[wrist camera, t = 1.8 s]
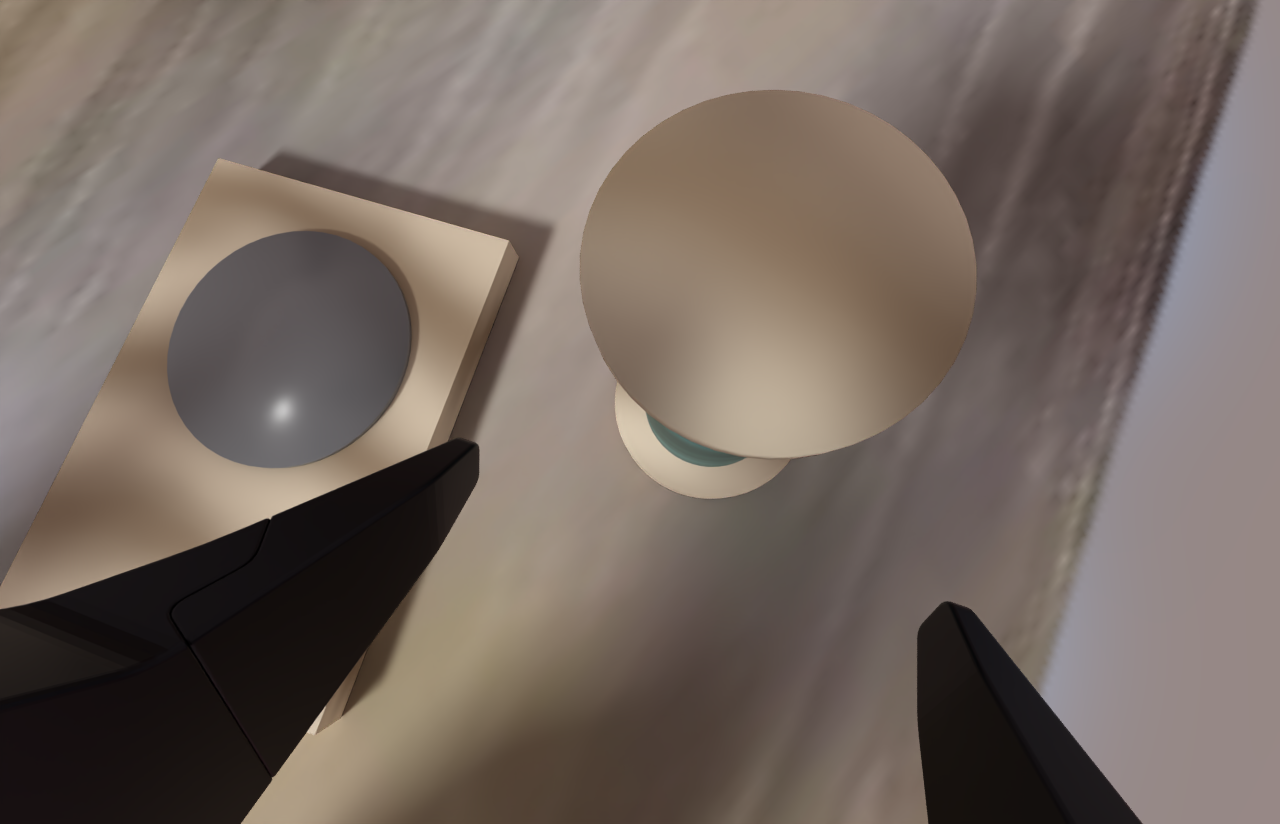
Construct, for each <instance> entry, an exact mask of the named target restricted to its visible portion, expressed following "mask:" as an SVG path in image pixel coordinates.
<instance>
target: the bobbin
mask: <svg viewBox="0 0 1280 824" xmlns="http://www.w3.org/2000/svg"><path fill="white" fill-rule="evenodd" d="M580 284H581V292H582V299H583V305H584V308H585V312H586V316H587V319H588V323H589V326H590V329H591V331H592V333H593V336H594V338H595V341H596V343H597V345H598V348H599V350H600V352H601V354H602V357H603V359H604V361H605V362H606V364H607V366H608V367H609V369H610V371H611V372H612V374H613V375H614V377H615V379H616V380H617V385H616V393H615V413H616V420H617V424H618V428H619V432H620V435H621V437H622V439H623V442H624V444H625V446H626V448H627V449H628V451H629V453H630V454H631V456H632V458H633V459H634V460H635V462H636V463H637V464H638V465H639V467H640V468H641V469H642V470H643V471H644V472H645V473H646V474H647V475H648V476H649V477H651V478H652V479H653V480H655V481H656V482H657V483H659V484H660V485H662V486H664V487H666V488H667V489H669V490H671V491H674V492H676V493H679V494H682V495H686V496H690V497H694V498H702V499H719V498H726V497H733V496H737V495H740V494H744V493H747V492H749V491H752V490H754V489H756V488H758V487H760V486H762V485H763V484H765V483H767V482H768V481H770V480H771V479H772V478H773V477H775V476H776V475H777V474H778V473H779V472H780V471H781V470H782V469H783V468H784V467H785V466H786V465H787V464H788V463H789V461H790V460H791V459H795V458H802V457H809V456H815V455H820V454H823V453H827V452H830V451H834V450H837V449H841V448H844V447H847V446H850V445H853V444H856V443H858V442H860V441H863V440H865V439H867V438H869V437H872V436H874V435H876V434H879V433H881V432H882V431H884V430H885V429H887V428H889V427H890V426H892V425H894V424H895V423H897V422H898V421H900V420H902V419H903V418H904V417H906V416H907V415H908V414H909V413H910V412H912V411H913V410H914V409H915V408H916V407H918V406H919V405H920V404H921V403H922V402H923V401H924V400H925V399H926V398H927V397H928V396H929V395H930V394H931V393H932V392H933V390H934V389H935V388H936V387H937V386H938V385H939V384H940V383H941V381H942V380H943V378H944V377H945V375H946V374H947V372H948V371H949V369H950V368H951V366H952V365H953V363H954V362H955V360H956V358H957V356H958V354H959V351H960V349H961V347H962V345H963V343H964V341H965V339H966V336H967V332H968V329H969V326H970V323H971V319H972V316H973V310H974V304H975V297H976V290H977V265H976V258H975V251H974V244H973V240H972V236H971V233H970V229H969V226H968V222H967V219H966V216H965V214H964V212H963V210H962V208H961V205H960V203H959V201H958V199H957V196H956V195H955V193H954V191H953V190H952V188H951V187H950V185H949V183H948V182H947V180H946V178H945V177H944V175H943V174H942V173H941V172H940V170H939V169H938V168H937V167H936V165H935V164H934V163H933V162H932V160H931V159H930V158H929V157H928V156H927V155H926V154H925V153H924V152H923V151H922V150H921V149H920V148H919V147H918V146H917V145H916V144H915V143H914V142H913V141H912V140H911V139H909V138H908V137H907V136H905V135H904V134H903V133H901V132H900V131H898V130H897V129H896V128H894V127H893V126H892V125H890V124H889V123H887V122H885V121H883V120H882V119H880V118H878V117H876V116H875V115H873V114H871V113H869V112H867V111H865V110H862V109H860V108H858V107H856V106H853V105H851V104H849V103H846V102H843V101H839V100H836V99H833V98H829V97H826V96H822V95H816V94H811V93H805V92H800V91H785V90H762V91H748V92H742V93H736V94H730V95H725V96H721V97H718V98H714V99H711V100H707V101H704V102H702V103H699V104H697V105H694V106H692V107H689V108H687V109H685V110H682V111H680V112H679V113H677V114H675V115H673V116H672V117H670V118H668V119H666V120H664V121H663V122H661V123H660V124H658V125H657V126H656V127H654V128H653V129H651V130H650V131H649V132H647V133H646V134H645V135H643V136H642V137H641V138H640V139H639V140H638V141H637V142H636V143H635V144H634V145H633V146H632V147H631V148H629V149H628V150H627V151H626V152H625V154H624V155H623V156H622V157H621V159H620V160H619V161H618V162H617V163H616V165H615V166H614V167H613V168H612V170H611V171H610V173H609V174H608V176H607V178H606V179H605V181H604V182H603V184H602V186H601V187H600V189H599V191H598V193H597V195H596V198H595V200H594V202H593V204H592V207H591V209H590V212H589V215H588V218H587V222H586V225H585V229H584V232H583V238H582V245H581V252H580Z"/></svg>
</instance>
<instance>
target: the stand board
mask: <svg viewBox="0 0 1280 824" xmlns="http://www.w3.org/2000/svg"><path fill="white" fill-rule="evenodd" d="M518 259H519V257H518V255H517V253H516V252H515V250H514V248H513V247H512V245H511V243H510V241H509V240H505V239H502V238H498V237H495V236H491V235H488V234H484V233H480V232H477V231H473V230H470V229H466V228H463V227H459V226H456V225H452V224H449V223H445V222H442V221H438V220H435V219H431V218H428V217H424V216H421V215H417V214H414V213H410V212H407V211H403V210H399V209H396V208H392V207H389V206H385V205H382V204H378V203H375V202H371V201H368V200H364V199H361V198H357V197H354V196H350V195H347V194H343V193H340V192H336V191H333V190H329V189H325V188H322V187H318V186H315V185H311V184H308V183H304V182H301V181H297V180H294V179H290V178H287V177H283V176H280V175H276V174H273V173H269V172H266V171H262V170H259V169H255V168H252V167H248V166H244V165H241V164H237V163H234V162H230V161H227V160H223V159H220V158H218V160H217V162H216V164H215V166H214V168H213V170H212V172H211V174H210V176H209V178H208V180H207V182H206V184H205V186H204V187H203V189H202V191H201V193H200V195H199V197H198V199H197V201H196V203H195V205H194V207H193V209H192V211H191V213H190V215H189V217H188V219H187V221H186V223H185V225H184V227H183V229H182V231H181V233H180V235H179V237H178V239H177V241H176V242H175V244H174V246H173V248H172V250H171V252H170V254H169V256H168V258H167V260H166V262H165V264H164V266H163V268H162V270H161V272H160V274H159V276H158V278H157V280H156V282H155V284H154V286H153V288H152V290H151V292H150V294H149V295H148V297H147V299H146V301H145V303H144V305H143V307H142V309H141V311H140V313H139V315H138V317H137V319H136V321H135V323H134V325H133V327H132V329H131V331H130V333H129V335H128V337H127V339H126V341H125V343H124V345H123V347H122V349H121V350H120V352H119V354H118V356H117V358H116V360H115V362H114V364H113V366H112V368H111V370H110V372H109V374H108V376H107V378H106V380H105V382H104V384H103V386H102V388H101V390H100V392H99V394H98V396H97V398H96V400H95V402H94V403H93V405H92V407H91V409H90V411H89V413H88V415H87V417H86V419H85V421H84V423H83V425H82V427H81V429H80V431H79V433H78V435H77V437H76V439H75V441H74V443H73V445H72V447H71V449H70V451H69V453H68V455H67V456H66V458H65V460H64V462H63V464H62V466H61V468H60V470H59V472H58V474H57V476H56V478H55V480H54V482H53V484H52V486H51V488H50V490H49V492H48V494H47V496H46V498H45V500H44V502H43V504H42V506H41V508H40V510H39V511H38V513H37V515H36V517H35V519H34V521H33V523H32V525H31V527H30V529H29V531H28V533H27V535H26V537H25V539H24V541H23V543H22V545H21V547H20V549H19V551H18V553H17V555H16V557H15V559H14V561H13V563H12V564H11V566H10V568H9V570H8V572H7V574H6V576H5V578H4V580H3V582H2V584H1V586H0V609H3V608H9V607H14V606H19V605H24V604H28V603H32V602H36V601H40V600H44V599H47V598H50V597H54V596H57V595H60V594H63V593H66V592H69V591H72V590H75V589H78V588H80V587H83V586H86V585H89V584H92V583H95V582H98V581H100V580H103V579H106V578H109V577H112V576H115V575H118V574H121V573H123V572H126V571H129V570H132V569H135V568H138V567H141V566H144V565H146V564H149V563H152V562H155V561H158V560H161V559H164V558H166V557H169V556H172V555H175V554H177V553H180V552H183V551H186V550H188V549H191V548H194V547H196V546H199V545H202V544H205V543H207V542H210V541H212V540H215V539H217V538H220V537H222V536H225V535H227V534H230V533H232V532H235V531H237V530H240V529H242V528H245V527H247V526H249V525H252V524H254V523H256V522H259V521H261V520H263V519H266V518H269V519H271V517H272V516H273V515H276V514H278V513H280V512H283V511H285V510H287V509H290V508H292V507H294V506H297V505H299V504H302V503H304V502H306V501H309V500H311V499H313V498H316V497H318V496H320V495H323V494H325V493H328V492H330V491H332V490H335V489H337V488H339V487H342V486H344V485H346V484H349V483H351V482H353V481H356V480H358V479H361V478H363V477H365V476H368V475H370V474H372V473H375V472H377V471H379V470H382V469H384V468H387V467H389V466H391V465H394V464H396V463H398V462H401V461H403V460H405V459H408V458H410V457H412V456H415V455H417V454H420V453H422V452H424V451H427V450H429V449H431V448H434V447H436V446H438V445H441V444H443V443H446V442H448V440H449V437H450V434H451V432H452V429H453V427H454V424H455V421H456V419H457V416H458V414H459V411H460V409H461V406H462V403H463V401H464V398H465V396H466V393H467V390H468V388H469V385H470V383H471V380H472V378H473V375H474V372H475V370H476V367H477V365H478V362H479V359H480V357H481V354H482V352H483V349H484V347H485V344H486V341H487V339H488V336H489V334H490V331H491V328H492V326H493V323H494V321H495V318H496V316H497V313H498V310H499V308H500V305H501V303H502V300H503V297H504V295H505V292H506V290H507V287H508V285H509V282H510V279H511V277H512V274H513V272H514V269H515V266H516V264H517V261H518ZM367 649H368V648H367ZM366 651H367V650H366ZM366 651H365V652H364V654H363V655H362V657H361V658H360V659H359V661H358V662H357V663H356V665H355V666H354V668H353V669H352V670H351V672H350V673H349V675H348V676H347V677H346V679H345V680H344V681H343V683H342V684H341V686H340V687H339V688H338V690H337V691H336V692H335V694H334V695H333V697H332V698H331V699H330V701H329V702H328V703H327V705H326V706H325V708H324V709H323V710H322V712H321V713H320V714H319V716H318V717H317V719H316V720H315V721H314V723H313V724H312V726H311V727H310V728H309V730H308V731H307V732H308V733H310V734H313V735H316V734H317V733H319V732H320V731H322V730H323V729H325V728H326V727H328V726H329V725H331V724H333V723H334V722H336V721H337V720H339V719H340V718H341V716H342V713H343V711H344V708H345V706H346V703H347V700H348V698H349V695H350V693H351V690H352V687H353V685H354V682H355V680H356V677H357V675H358V672H359V669H360V667H361V664H362V662H363V659H364V656H365V654H366Z"/></svg>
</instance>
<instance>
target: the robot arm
mask: <svg viewBox="0 0 1280 824" xmlns="http://www.w3.org/2000/svg"><path fill="white" fill-rule="evenodd" d="M478 478H479V446H478V444H477V443H475V442H472V441H469V440H466V439H463V438H455V439H453V440H450V441H448V442H446V443H443V444H441V445H438V446H436V447H434V448H431V449H429V450H427V451H424V452H422V453H420V454H417V455H415V456H412V457H410V458H408V459H405V460H403V461H401V462H398V463H396V464H394V465H391V466H389V467H387V468H384V469H382V470H379V471H377V472H375V473H372V474H370V475H368V476H365V477H363V478H361V479H358V480H356V481H353V482H351V483H349V484H346V485H344V486H342V487H339V488H337V489H335V490H332V491H330V492H328V493H325V494H323V495H320V496H318V497H316V498H313V499H311V500H309V501H306V502H304V503H302V504H299V505H297V506H294V507H292V508H290V509H287V510H285V511H283V512H280V513H278V514H276V515H273V516H272V517H271V519H269V518H266V519H263V520H261V521H259V522H256V523H254V524H252V525H249V526H247V527H245V528H242V529H240V530H237V531H235V532H232V533H230V534H227V535H225V536H222V537H220V538H217V539H215V540H212V541H210V542H207V543H205V544H202V545H199V546H196V547H194V548H191V549H188V550H186V551H183V552H180V553H177V554H175V555H172V556H169V557H166V558H164V559H161V560H158V561H155V562H152V563H149V564H146V565H144V566H141V567H138V568H135V569H132V570H129V571H126V572H123V573H121V574H118V575H115V576H112V577H109V578H106V579H103V580H100V581H98V582H95V583H92V584H89V585H86V586H83V587H80V588H78V589H75V590H72V591H69V592H66V593H63V594H60V595H57V596H54V597H50V598H47V599H44V600H40V601H36V602H32V603H28V604H24V605H19V606H14V607H9V608H3V609H0V824H241V822H242V821H243V820H244V818H245V817H246V816H247V814H248V813H249V811H250V810H251V809H252V807H253V806H254V805H255V803H256V802H257V800H258V799H259V798H260V796H261V795H262V794H263V792H264V791H265V789H266V788H267V787H268V785H269V784H270V782H271V781H272V777H274V776H275V775H276V774H277V772H278V771H279V770H280V768H281V767H282V765H283V764H284V763H285V761H286V760H287V759H288V757H289V756H290V754H291V753H292V752H293V750H294V749H295V748H296V746H297V745H298V743H299V742H300V741H301V739H302V738H303V737H304V735H305V734H306V732H307V731H308V730H309V728H310V727H311V726H312V724H313V723H314V721H315V720H316V719H317V717H318V716H319V714H320V713H321V712H322V710H323V709H324V708H325V706H326V705H327V703H328V702H329V701H330V699H331V698H332V697H333V695H334V694H335V692H336V691H337V690H338V688H339V687H340V686H341V684H342V683H343V681H344V680H345V679H346V677H347V676H348V675H349V673H350V672H351V670H352V669H353V668H354V666H355V665H356V663H357V662H358V661H359V659H360V658H361V657H362V655H363V654H364V652H365V651H366V650H367V648H368V647H369V646H370V644H371V643H372V641H373V640H374V639H375V637H376V636H377V635H378V633H379V632H380V630H381V629H382V628H383V626H384V625H385V624H386V622H387V621H388V619H389V618H390V617H391V615H392V614H393V612H394V611H395V610H396V608H397V607H398V606H399V604H400V603H401V601H402V600H403V599H404V597H405V596H406V595H407V593H408V592H409V590H410V589H411V588H412V586H413V585H414V584H415V582H416V581H417V579H418V578H419V577H420V575H421V574H422V573H423V571H424V570H425V568H426V567H427V566H428V564H429V563H430V562H431V560H432V559H433V557H434V556H435V554H436V553H437V551H438V550H439V548H440V547H441V545H442V543H443V542H444V540H445V538H446V537H447V535H448V533H449V531H450V530H451V528H452V526H453V524H454V523H455V521H456V519H457V517H458V515H459V514H460V512H461V510H462V508H463V507H464V505H465V503H466V501H467V500H468V498H469V496H470V494H471V493H472V491H473V489H474V487H475V485H476V483H477V481H478ZM917 717H918V732H919V742H920V751H921V760H922V769H923V778H924V787H925V796H926V806H927V815H928V824H1142V822H1141V821H1140V820H1139V819H1138V817H1137V816H1136V815H1135V814H1134V812H1133V811H1132V810H1131V809H1130V807H1129V806H1128V805H1127V803H1126V802H1125V801H1124V800H1123V799H1122V797H1121V796H1120V795H1119V793H1118V792H1117V791H1116V790H1115V789H1114V787H1113V786H1112V785H1111V783H1110V782H1109V781H1108V780H1107V779H1106V777H1105V776H1104V775H1103V773H1102V772H1101V771H1100V770H1099V768H1098V767H1097V766H1096V765H1095V763H1094V762H1093V761H1092V760H1091V758H1090V757H1089V756H1088V755H1087V753H1086V752H1085V751H1084V750H1083V748H1082V747H1081V746H1080V745H1079V743H1078V742H1077V741H1076V740H1075V738H1074V737H1073V736H1072V735H1071V733H1070V732H1069V731H1068V730H1067V728H1066V727H1065V726H1064V725H1063V723H1062V722H1061V721H1060V719H1059V718H1058V717H1057V716H1056V714H1055V713H1054V712H1053V711H1052V709H1051V708H1050V707H1049V706H1048V704H1047V703H1046V702H1045V701H1044V699H1043V698H1042V697H1041V696H1040V694H1039V693H1038V692H1037V691H1036V689H1035V688H1034V687H1033V686H1032V684H1031V683H1030V682H1029V681H1028V679H1027V678H1026V677H1025V676H1024V674H1023V673H1022V672H1021V671H1020V669H1019V668H1018V667H1017V666H1016V664H1015V663H1014V662H1013V661H1012V659H1011V658H1010V657H1009V656H1008V654H1007V653H1006V652H1005V651H1004V649H1003V648H1002V647H1001V646H1000V644H999V643H998V642H997V640H996V639H995V638H994V637H993V635H992V634H991V633H990V632H989V630H988V629H987V628H986V627H985V625H984V624H983V623H982V622H981V620H980V619H979V618H978V617H977V615H976V614H975V613H974V612H973V611H972V610H971V609H969V608H967V607H965V606H962V605H959V604H956V603H953V602H949V601H946V602H943V603H941V604H940V605H939V606H938V607H937V608H936V609H935V610H934V612H933V613H932V614H931V615H930V616H929V617H928V618H927V619H926V620H925V621H924V622H923V623H922V625H921V626H920V628H919V631H918V636H917Z"/></svg>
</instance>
